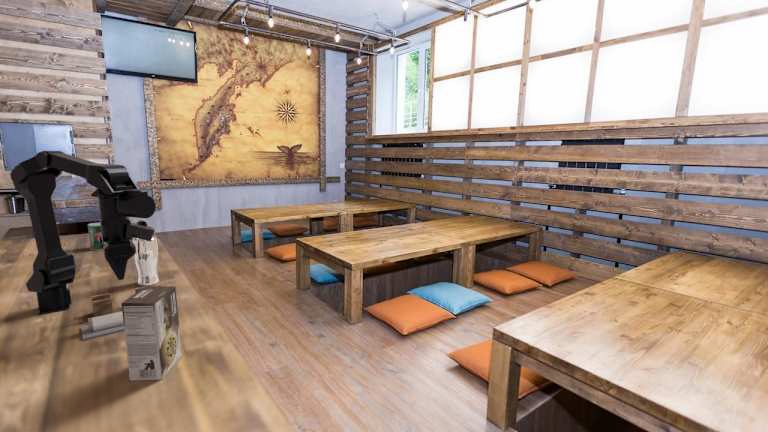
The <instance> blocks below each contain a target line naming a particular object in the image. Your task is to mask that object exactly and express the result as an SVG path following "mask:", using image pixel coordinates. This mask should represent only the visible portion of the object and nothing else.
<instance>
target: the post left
mask: <svg viewBox="0 0 768 432" xmlns="http://www.w3.org/2000/svg"><path fill="white" fill-rule="evenodd" d="M91 304H92V305H91V306H92V314H93V317H98V316H103V315H107V314H112V313H114V310H113V309H114V308H113V299H112V297H111V293H110V292H108V293H103V294H102V293H101V294H98V295H96V294H95V295H91Z"/></svg>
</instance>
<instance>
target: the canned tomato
mask: <svg viewBox="0 0 768 432" xmlns="http://www.w3.org/2000/svg"><path fill="white" fill-rule="evenodd" d="M87 229H88V236H89V237H88V238H89V247H90V248H89V250H90V251H103V249H102V248H101V246H100V244H101V243H99V236H98V235H99V234H100V233H101V224H100V221H99V222H92V223H88V224H87ZM103 243H104V242H103Z"/></svg>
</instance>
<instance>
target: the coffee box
mask: <svg viewBox="0 0 768 432" xmlns="http://www.w3.org/2000/svg"><path fill="white" fill-rule="evenodd" d="M143 287H144V288H142V289H141V290H139V291H138V292H136V293H135V292H134V294H132V295H131V296H129V297H128V298H126V300H124V301H123V302H121V311H122V313H123V322H124V331H123V332H124V337H125V338H124V339H125V348H126V349H125V350H126V357H127V358H126V359H127V368H128V377H129V380H130V382H131V381H161V380H164V378H165V377H166V376H167V374H168V373H169V372H170V371H171V370H172V368H173V367H174V366H175V365H176V363H177V362H178V361H179V360H180V358H181V357H182V355H183V353H182V344H181V332H180V321H179V320H180V319H179V309H178V300H177V299H178V298H177V290H176V285H174V286H171V285H170V286H166V285H151V286H150V285H144V286H143Z"/></svg>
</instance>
